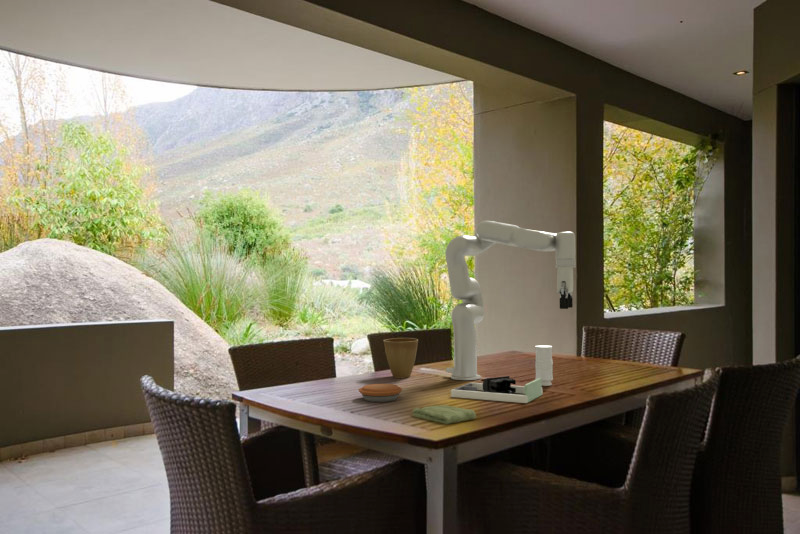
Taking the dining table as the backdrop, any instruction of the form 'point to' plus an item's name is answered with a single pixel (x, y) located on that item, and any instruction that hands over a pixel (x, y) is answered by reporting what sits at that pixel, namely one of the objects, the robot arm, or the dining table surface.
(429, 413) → the washcloth
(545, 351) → the candle
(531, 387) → the finger lane
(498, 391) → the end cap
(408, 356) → the plant pot
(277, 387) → the dining table surface
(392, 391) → the pie
